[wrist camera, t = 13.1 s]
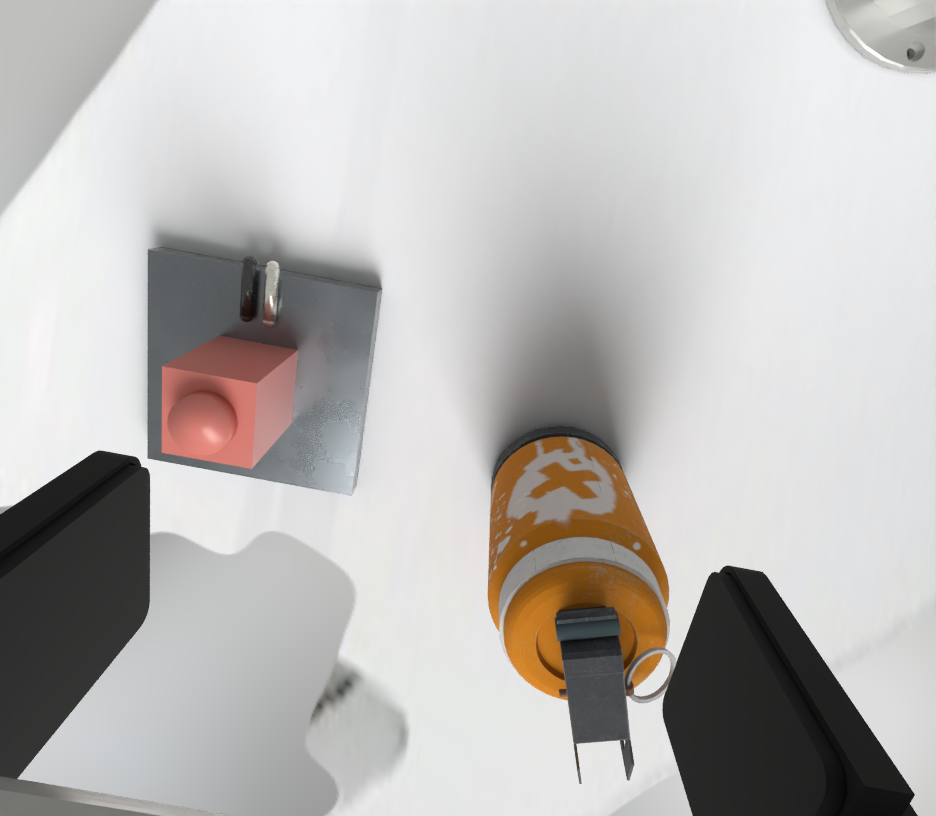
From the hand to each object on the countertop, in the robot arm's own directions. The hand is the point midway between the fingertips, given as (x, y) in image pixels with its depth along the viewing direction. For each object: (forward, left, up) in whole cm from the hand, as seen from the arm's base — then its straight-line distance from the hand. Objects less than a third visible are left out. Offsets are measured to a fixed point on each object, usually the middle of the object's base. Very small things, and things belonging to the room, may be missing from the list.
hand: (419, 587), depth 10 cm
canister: (+13, +8, -31) cm, 34 cm away
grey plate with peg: (+8, -13, -30) cm, 34 cm away
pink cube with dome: (+8, -13, -29) cm, 33 cm away
